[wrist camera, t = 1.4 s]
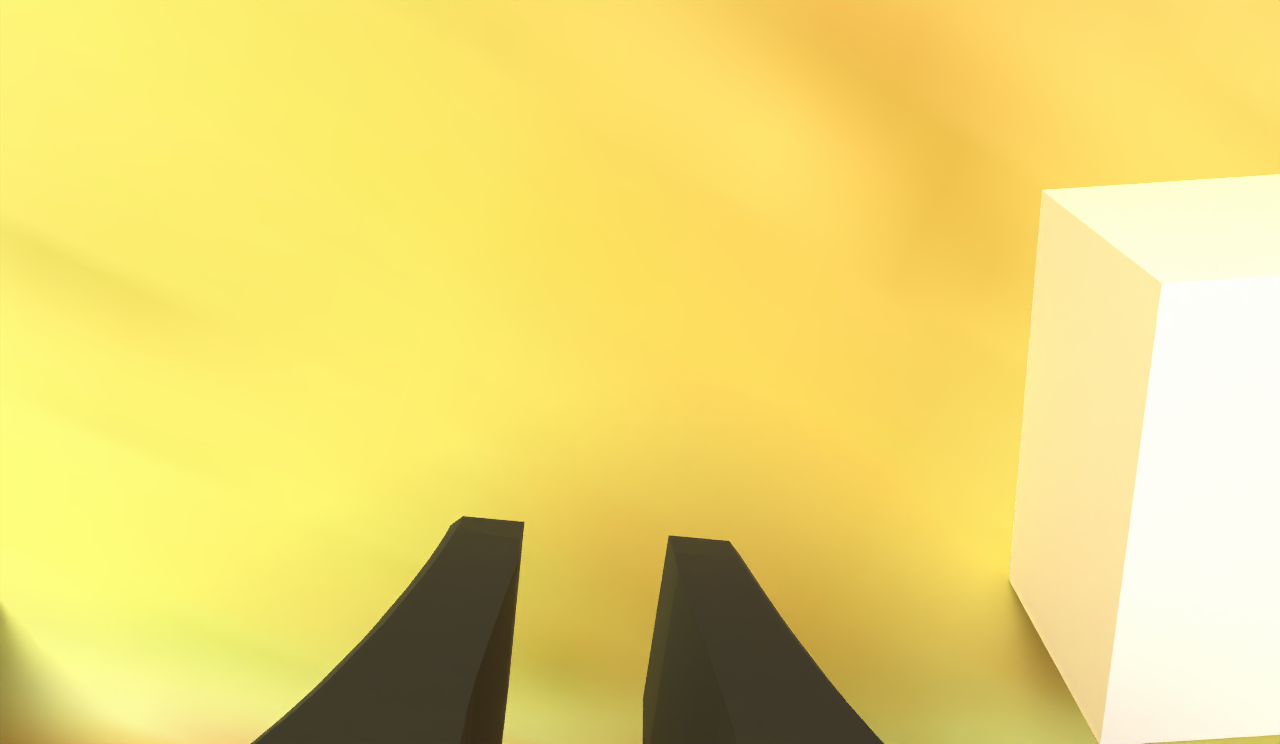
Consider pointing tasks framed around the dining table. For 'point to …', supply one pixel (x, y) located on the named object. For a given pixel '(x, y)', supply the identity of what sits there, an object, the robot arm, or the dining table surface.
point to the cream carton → (1156, 456)
